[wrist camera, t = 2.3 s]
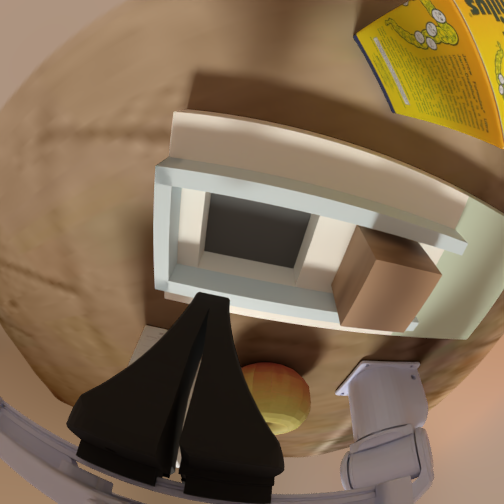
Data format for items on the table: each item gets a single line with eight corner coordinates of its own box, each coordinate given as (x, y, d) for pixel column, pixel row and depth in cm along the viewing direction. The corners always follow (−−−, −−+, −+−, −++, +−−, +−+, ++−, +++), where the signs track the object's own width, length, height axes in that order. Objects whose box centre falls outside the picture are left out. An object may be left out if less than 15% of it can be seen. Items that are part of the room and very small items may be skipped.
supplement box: (416, 17, 10) (524, -12, 1) (451, 91, 12) (569, 121, 3) (348, 34, 12) (440, -22, 3) (390, 114, 14) (507, 155, 5)
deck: (518, 223, 17) (544, 246, 13) (458, 324, 24) (472, 352, 20) (186, 109, 15) (160, 114, 12) (173, 279, 23) (156, 315, 19)
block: (417, 240, 16) (442, 275, 13) (387, 294, 19) (403, 332, 16) (356, 223, 16) (376, 259, 13) (331, 284, 19) (340, 325, 15)
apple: (236, 392, 33) (230, 445, 26) (215, 351, 28) (202, 416, 21) (310, 388, 32) (312, 443, 25) (306, 345, 27) (310, 414, 20)
